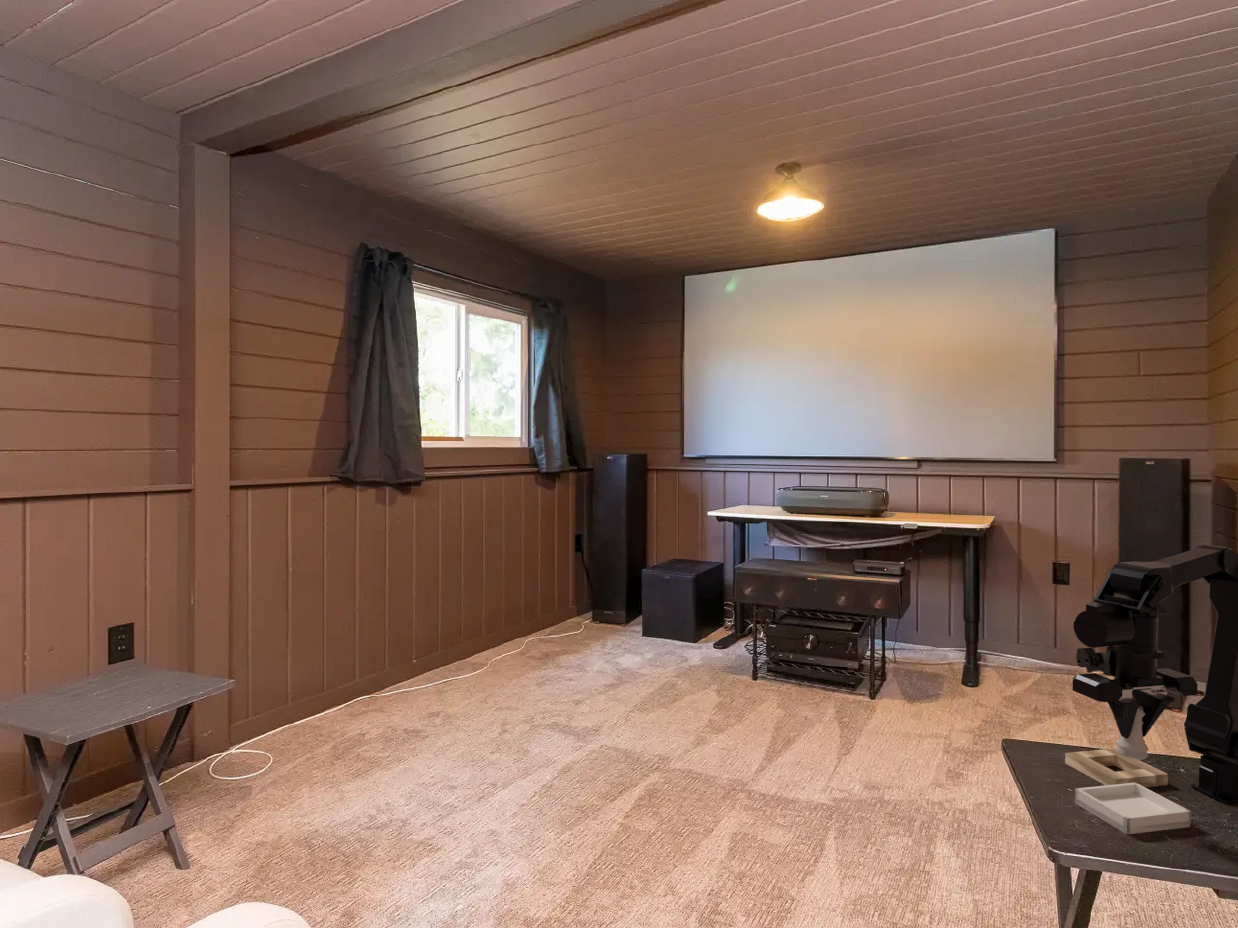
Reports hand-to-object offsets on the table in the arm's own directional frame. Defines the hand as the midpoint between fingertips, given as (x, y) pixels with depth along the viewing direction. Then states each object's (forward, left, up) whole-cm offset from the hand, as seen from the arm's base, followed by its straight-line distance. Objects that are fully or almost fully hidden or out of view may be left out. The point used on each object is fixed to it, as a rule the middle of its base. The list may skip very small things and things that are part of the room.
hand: (1132, 736), depth 120 cm
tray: (0, 0, -13) cm, 13 cm away
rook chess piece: (0, 0, -3) cm, 3 cm away
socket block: (-10, -13, -13) cm, 21 cm away
